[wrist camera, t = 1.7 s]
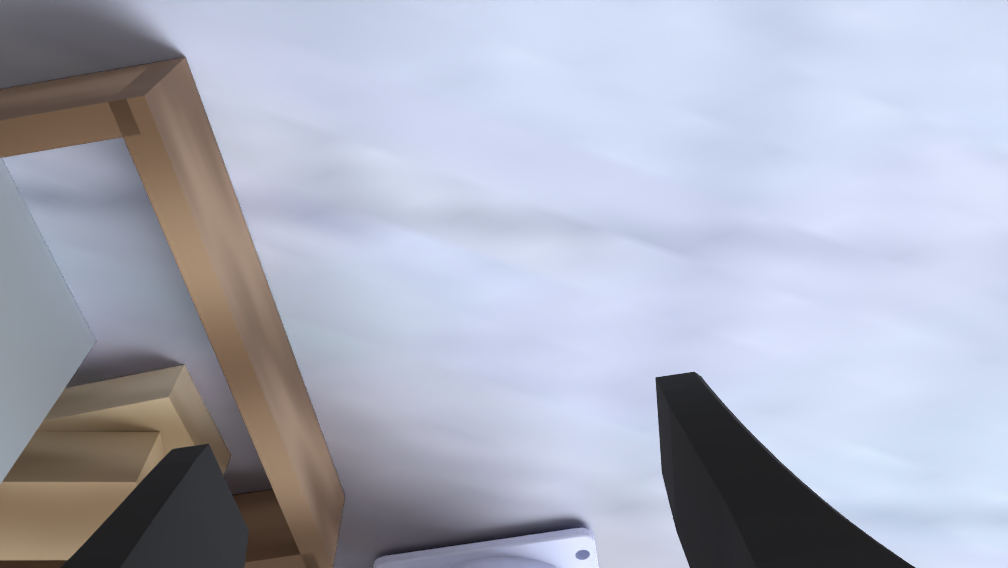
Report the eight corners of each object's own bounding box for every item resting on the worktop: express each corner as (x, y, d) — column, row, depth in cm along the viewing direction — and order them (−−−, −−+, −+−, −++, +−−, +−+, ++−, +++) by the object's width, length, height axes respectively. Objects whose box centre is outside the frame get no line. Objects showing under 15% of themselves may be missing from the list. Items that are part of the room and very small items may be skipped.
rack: (345, 496, 28) (333, 568, 25) (-37, 552, 28) (-87, 628, 26) (185, 57, 20) (144, 95, 17) (-339, 147, 20) (-455, 198, 18)
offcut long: (234, 445, 27) (218, 489, 25) (36, 482, 27) (8, 528, 26) (188, 355, 25) (168, 396, 23) (-24, 397, 25) (-59, 440, 24)
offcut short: (179, 507, 26) (158, 559, 24) (16, 507, 25) (-17, 560, 24) (160, 432, 24) (135, 482, 22) (-15, 431, 24) (-53, 481, 22)
